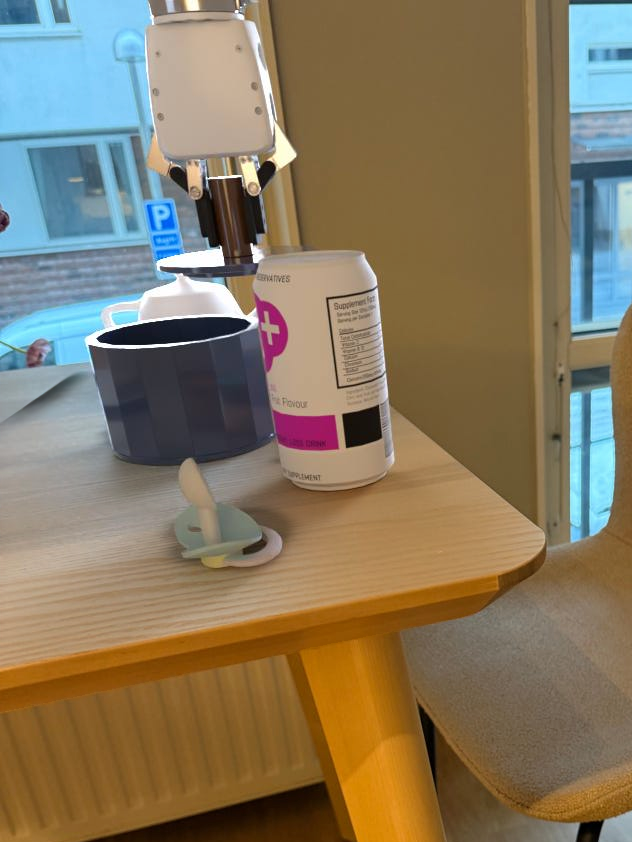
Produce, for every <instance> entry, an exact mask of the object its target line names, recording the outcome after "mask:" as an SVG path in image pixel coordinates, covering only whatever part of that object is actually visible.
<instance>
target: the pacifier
mask: <svg viewBox="0 0 632 842" xmlns="http://www.w3.org/2000/svg"><path fill="white" fill-rule="evenodd" d="M178 484H179V487H180V490H181V492H182V494H183V496H184V497H185V499H186V500H187V501H188V503H190V504H191V505H190V506H188V507H186V508H184V509H183V510H182V511H181V512H180V513H179V515H177V518H176V519H175V522H174V525H173V529H174V530H173V531H174V534H175V537H176V539H177V541H178V542H179V544H180V545H181V546H183V548H186V549H185V550H183V551H182V552H181V553H180V554H181V557H182V558H183V559H200V562H201V564H202V565H204V566H205V567H207V568H212V569H213V568H214V569H219V568H226V567H236V568H250V567H256V566H260V565H263V564H266V563H268V562H270V561H272V560H273V559H275V558H276V557H277V556H278V555H279V554H280V553H281V551H282V549H283V544H284V543H283V540H282V537H281V535H280V534H278V532H277V531H275V530H274V529H272V528H270V527H268V526H266V525H265V526H264V525H261V524H258V523H257V522H256V521H255V520H254V518H252V517H251V516H250V515H249V514H248V513H246V512H245V511H243V510H241V508H237V507H235V506H233V505H229V504H226V503H221V502H216V500H215V498H214V494H213V493H212V490H211V487H210V486H209V484H208V482H207V480H206V478H205V475H204V474H203V473H202V471H201V469H200V466H199V465H198V464H197V463H196V462H195V461H194V460H193V459H192V458H188V459H186V460H185V461H184V462H183V463H182V464H181V465H180V467H179V470H178ZM191 528H199V529H200V530H199V531H195V532H194V531H191V530H190V529H191ZM260 540H263V541H264V542H265V543H266V545H265V546H264V547H263V548H262V549H260V550H259V551H256V552H253V553H247V554H244V550H243V549H245V548H247V547H250V546H251V545H253V544H255V543H256V544H257V542H259V541H260Z"/></svg>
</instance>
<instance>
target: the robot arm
mask: <svg viewBox="0 0 632 842" xmlns="http://www.w3.org/2000/svg"><path fill="white" fill-rule="evenodd" d="M147 4H148V8H149V14H150V15H149V16H150V20H151V24H148V25H145V27H144V44H145V45H144V47H145V49H144V50H145V62H146V63H145V65H146V74H147V85H148V95H149V102H150V103H149V104H150V109H151V117H152V123H153V129H154V130H153V133H152V137H151V141H150V145H149V148H148V152H147V156H146V159H145V165H146V167H147V168H148V169H149V170H151V171H153V172H156V173H157V174H159V175H161V176H164V177H166V178H168V179H170V180H171V181H173V182H174V183H175V184H176V185H178V187H180V188H181V189H182V190H184V191H185V192H186V193H187V194H188V195H189V197H190V198H191V199H192V200H194V203H195V208H196V209H195V210H196V214H197V220H198V224H199V229H200V235H201V237H202V238H203V239H205V238H207V242H208V246H209V248H210V249H215V248H218V247H220V243H219V237H218V231H217V226H216V220H215V215H214V209H213V203H212V198H211V192H210V188H209V181H208V179H209V178H208V168H207V159H220V158H221V159H222V158H223V159H224V158H236V157H237V158H238V160H239V165H240V168H241V172H242V177H243V181H244V185H245V187H244V190H245V197H244V198H243V206H244V212H245V218H246V224H247V230H248V236H249V242H250V244H252V245H254V246H260V244H262V243H263V235H265V234H266V235H267V233H268V225H267V219H266V212H265V206H264V201H263V193H264V192H265V190H266V188H267V187H268V186H269V184H270V183H271V181H272V180H273V179H274V177H275V176H276V174H277V173H278V172H280V171H281V170H282V169H284V168H285V167H287V166H288V165H290V164H291V163H292V162H293V161H295V160H296V159H297V157H298V152H297V149H295V147H294V145H293V144H292V142H291V141H290V139H289V137H288V136H287V135H286V133H285V131H284V130H283V128H282V127H281V125H280V124H279V122H278V117H277V112H276V111H277V110H276V106H275V100H274V96H273V89H272V85H271V84H272V83H271V80H270V79H271V78H270V75H269V70H268V65H267V62H266V58H265V52H264V48H263V46H262V42H261V38H260V35H259V32H258V29H257V25H256V23H255V22H254V21H251V20H250V19H249V20H248V19H245V15H246V10H247V9H248V7H249V6H252V4H260V0H147ZM273 151H275V153H274V154H273V155H272V156H270V157H269V158H268V159H266V160H264V161H263V162H262V164H261V165H260V161H259V157H258V156H259V155H264V154H269V153H272V152H273ZM170 159H173V160H178V161H185V167H183V166H182V165H179V164H176V163H174V162H173V161H171V160H170Z"/></svg>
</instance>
